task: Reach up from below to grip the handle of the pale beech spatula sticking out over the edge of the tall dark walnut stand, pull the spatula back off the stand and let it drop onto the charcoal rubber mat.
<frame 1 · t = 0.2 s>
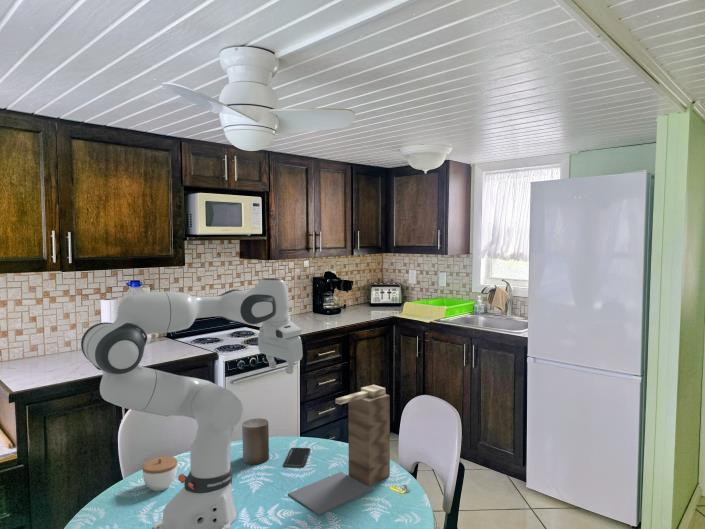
hand: (281, 370, 153), 39 cm above the table, tool pointing down, fingers open, 8 cm apart
pillar candle: (255, 459, 178), on the table
rubber mat: (330, 492, 153), on the table
beech spatula: (360, 397, 161), point 28 cm above the table, touching walnut stand
phone: (297, 459, 179), on the table
lidded jar: (160, 486, 158), on the table
walnut stand: (369, 475, 165), on the table
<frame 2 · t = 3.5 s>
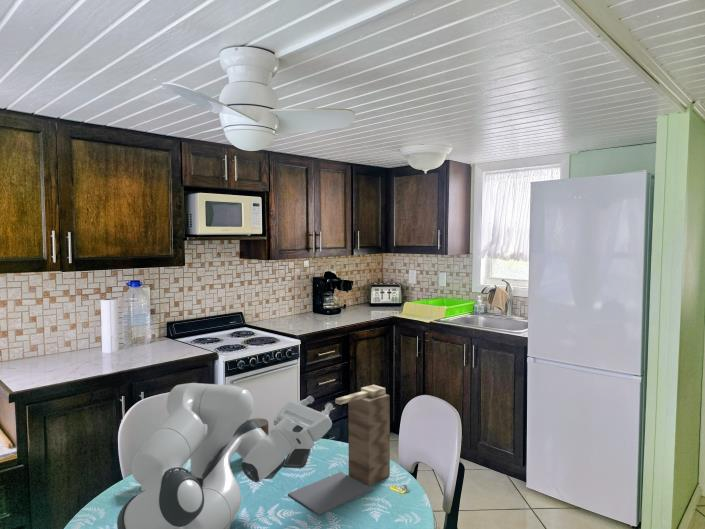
hand: (321, 401, 150), 30 cm above the table, tool pointing upward, fingers open, 8 cm apart
nothing on the table moved.
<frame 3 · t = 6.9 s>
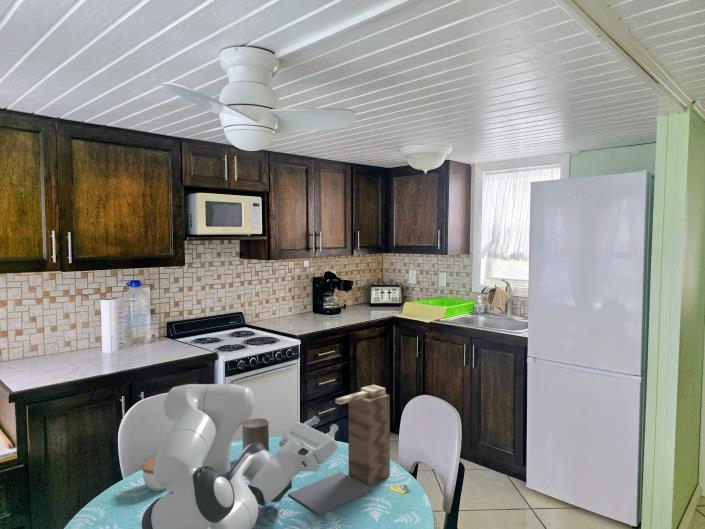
hand: (326, 421, 150), 24 cm above the table, tool pointing upward, fingers open, 8 cm apart
nothing on the table moved.
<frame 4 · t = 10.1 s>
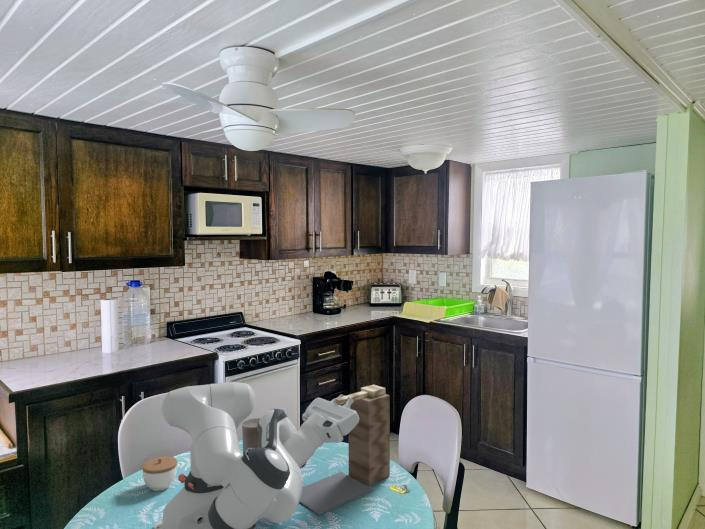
hand: (347, 397, 157), 29 cm above the table, tool pointing upward, fingers closed on beech spatula, 2 cm apart
beech spatula: (360, 397, 161), point 28 cm above the table, touching gripper, walnut stand
everything else where it was.
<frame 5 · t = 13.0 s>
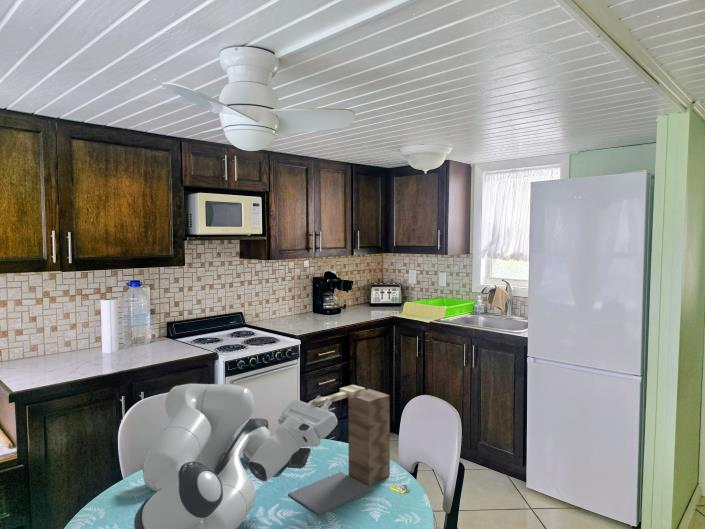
hand: (325, 398, 151), 31 cm above the table, tool pointing upward, fingers closed on beech spatula, 2 cm apart
beech spatula: (339, 398, 155), point 30 cm above the table, touching gripper
everything else where it was.
when the fingers open (22 cm above the table, at t = 15.8 s): beech spatula drops 21 cm, resting on rubber mat.
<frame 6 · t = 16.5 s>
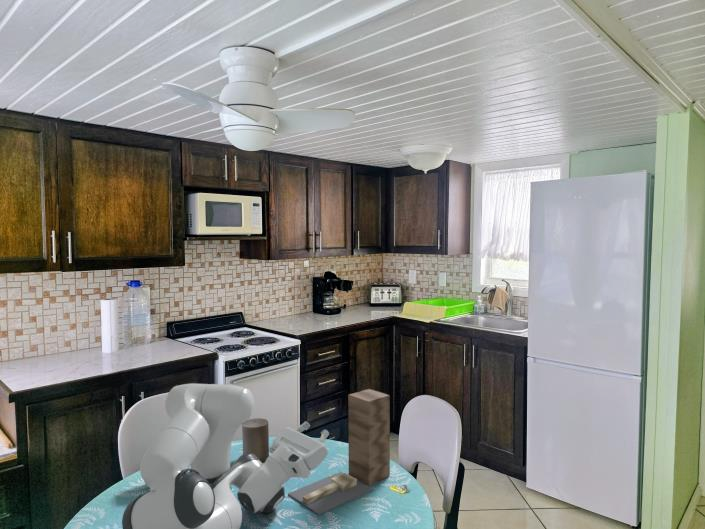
hand: (317, 427, 149), 22 cm above the table, tool pointing upward, fingers open, 8 cm apart
beech spatula: (330, 491, 153), resting on rubber mat
everything else where it was.
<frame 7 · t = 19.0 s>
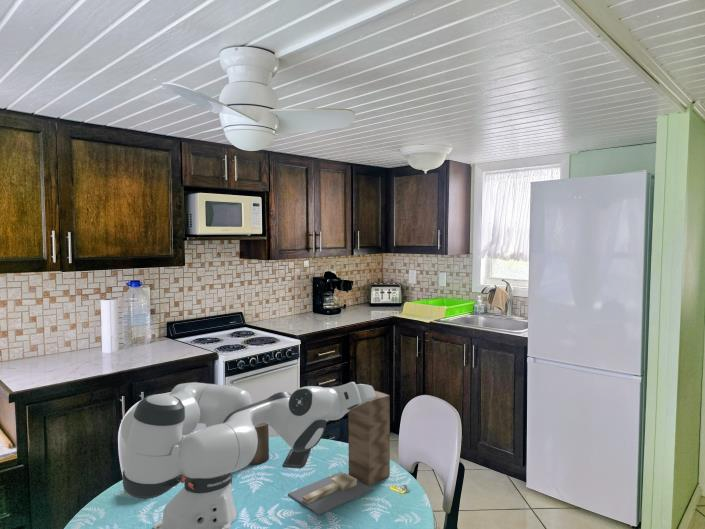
hand: (356, 405, 149), 29 cm above the table, tool tilted 75°, fingers open, 8 cm apart
nothing on the table moved.
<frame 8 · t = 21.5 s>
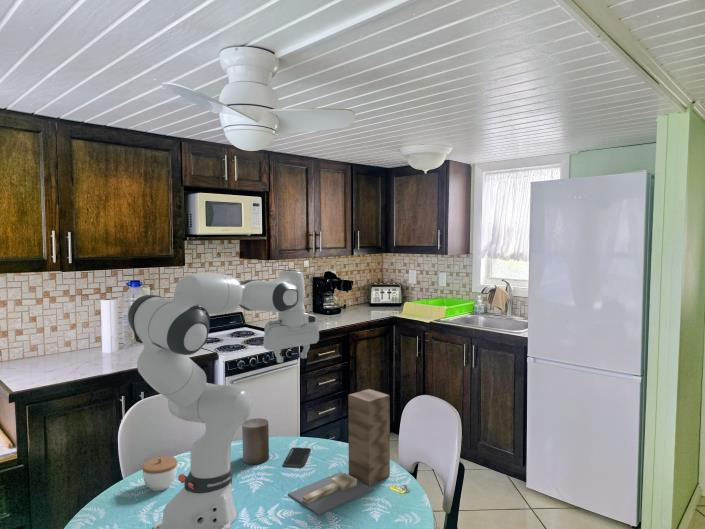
hand: (292, 360, 159), 41 cm above the table, tool pointing down, fingers open, 8 cm apart
nothing on the table moved.
at the end: beech spatula inside the target area (1.3 cm from its centre), point 0.5 cm above the table; the gripper is holding nothing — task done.
